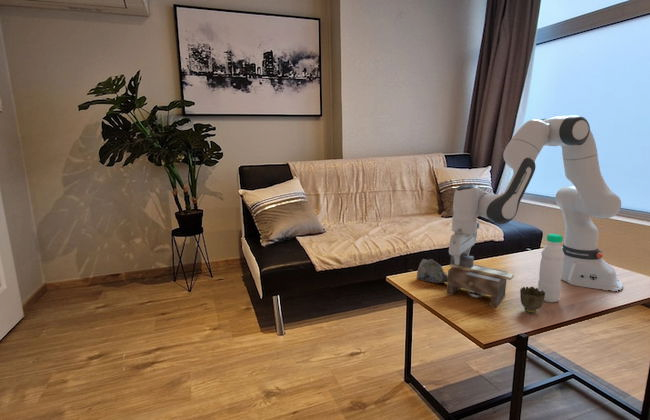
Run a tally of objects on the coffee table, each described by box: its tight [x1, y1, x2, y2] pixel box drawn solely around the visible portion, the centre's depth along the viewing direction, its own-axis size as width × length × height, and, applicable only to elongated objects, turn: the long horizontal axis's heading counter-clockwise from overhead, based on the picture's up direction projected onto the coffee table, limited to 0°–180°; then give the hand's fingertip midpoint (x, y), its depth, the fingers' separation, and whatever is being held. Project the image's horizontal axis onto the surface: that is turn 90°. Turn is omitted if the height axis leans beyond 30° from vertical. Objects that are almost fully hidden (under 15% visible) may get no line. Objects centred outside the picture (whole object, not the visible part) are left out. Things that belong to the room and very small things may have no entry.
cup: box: [519, 286, 545, 315], centre depth 120 cm, size 8×7×8 cm
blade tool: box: [449, 253, 515, 281], centre depth 131 cm, size 22×4×5 cm, turn 50°
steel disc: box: [468, 290, 484, 299], centre depth 134 cm, size 5×5×2 cm
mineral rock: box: [416, 258, 448, 284], centre depth 146 cm, size 13×11×10 cm
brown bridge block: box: [446, 263, 508, 308], centre depth 133 cm, size 18×13×10 cm
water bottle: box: [537, 233, 564, 303], centre depth 127 cm, size 7×7×25 cm
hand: (461, 260), depth 135 cm, fingers open, 8 cm apart
